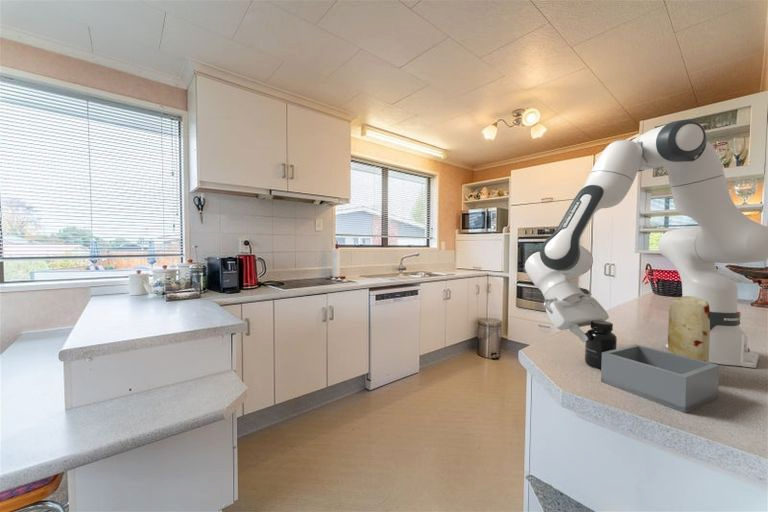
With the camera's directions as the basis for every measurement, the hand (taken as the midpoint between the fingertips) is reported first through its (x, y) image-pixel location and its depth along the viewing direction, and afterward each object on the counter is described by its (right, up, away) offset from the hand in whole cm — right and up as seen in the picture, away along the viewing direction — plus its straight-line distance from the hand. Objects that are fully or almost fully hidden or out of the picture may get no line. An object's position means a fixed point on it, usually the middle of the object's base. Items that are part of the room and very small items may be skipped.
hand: (597, 338), depth 82 cm
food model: (+18, -8, -7) cm, 20 cm away
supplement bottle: (0, -7, 0) cm, 7 cm away
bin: (+3, -8, -14) cm, 16 cm away
